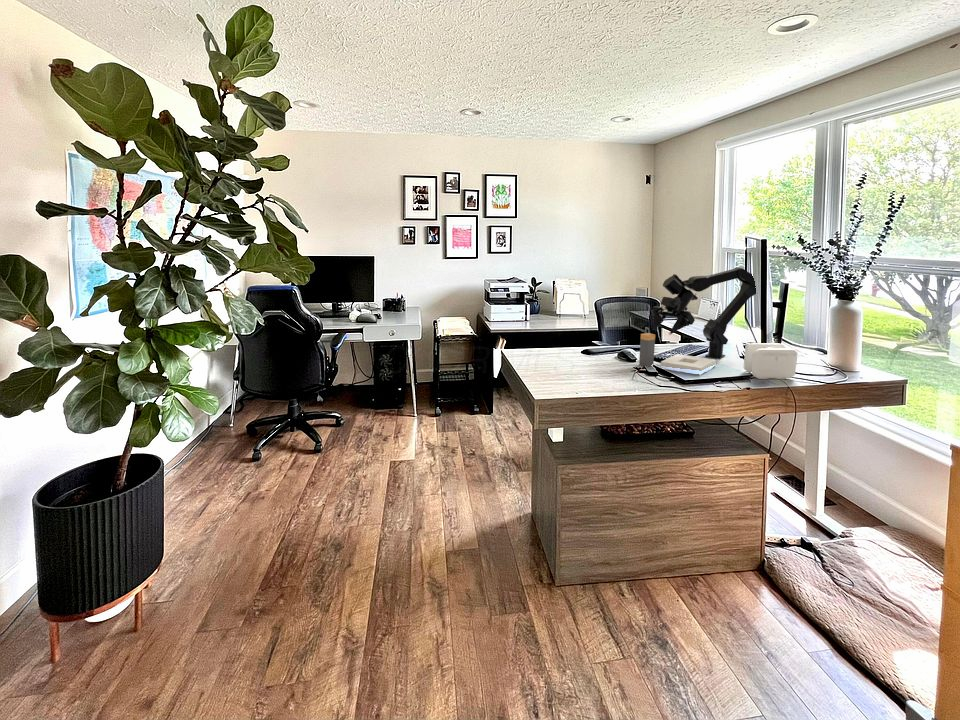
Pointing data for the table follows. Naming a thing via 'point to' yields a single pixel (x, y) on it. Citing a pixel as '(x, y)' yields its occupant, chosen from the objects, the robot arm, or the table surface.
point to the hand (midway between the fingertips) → (661, 331)
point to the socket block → (688, 362)
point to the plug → (647, 349)
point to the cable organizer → (770, 360)
